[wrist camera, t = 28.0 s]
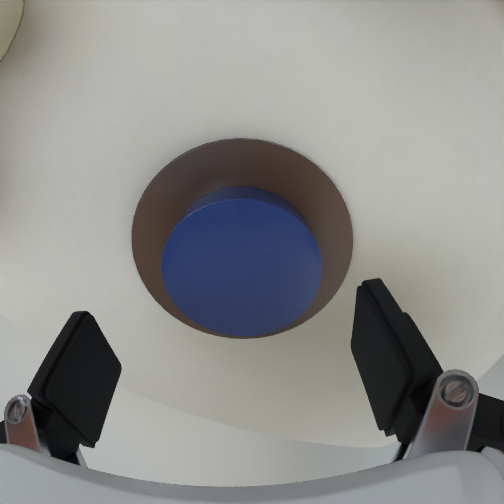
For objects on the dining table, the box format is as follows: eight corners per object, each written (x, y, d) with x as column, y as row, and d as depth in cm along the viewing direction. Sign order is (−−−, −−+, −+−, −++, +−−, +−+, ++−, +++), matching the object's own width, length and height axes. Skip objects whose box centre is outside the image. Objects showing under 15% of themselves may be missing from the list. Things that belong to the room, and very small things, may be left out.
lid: (311, 176, 12) (320, 187, 10) (317, 304, 15) (324, 326, 14) (154, 200, 12) (141, 214, 11) (190, 318, 16) (185, 341, 14)
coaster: (228, 355, 18) (227, 362, 17) (97, 234, 14) (93, 239, 13) (381, 266, 15) (385, 272, 14) (263, 88, 11) (264, 87, 10)
